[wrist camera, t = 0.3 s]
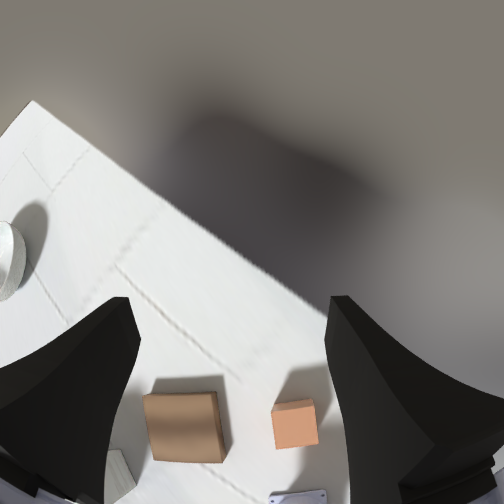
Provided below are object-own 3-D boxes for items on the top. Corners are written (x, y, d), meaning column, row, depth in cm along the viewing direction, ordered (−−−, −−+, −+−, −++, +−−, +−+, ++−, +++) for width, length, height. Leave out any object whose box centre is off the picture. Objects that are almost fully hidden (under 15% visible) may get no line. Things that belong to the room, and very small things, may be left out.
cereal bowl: (45, 273, 47) (20, 262, 40) (6, 322, 45) (-18, 317, 38) (27, 217, 52) (6, 204, 45) (-9, 265, 51) (-29, 256, 44)
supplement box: (89, 450, 36) (39, 467, 24) (121, 448, 35) (72, 470, 23) (105, 486, 33) (60, 511, 21) (138, 487, 33) (95, 517, 21)
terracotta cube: (316, 432, 33) (318, 443, 29) (278, 437, 34) (276, 449, 29) (311, 398, 35) (314, 405, 30) (273, 403, 35) (270, 412, 31)
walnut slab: (227, 455, 34) (222, 463, 31) (162, 454, 35) (153, 460, 32) (216, 391, 37) (210, 394, 34) (151, 393, 38) (142, 395, 35)
